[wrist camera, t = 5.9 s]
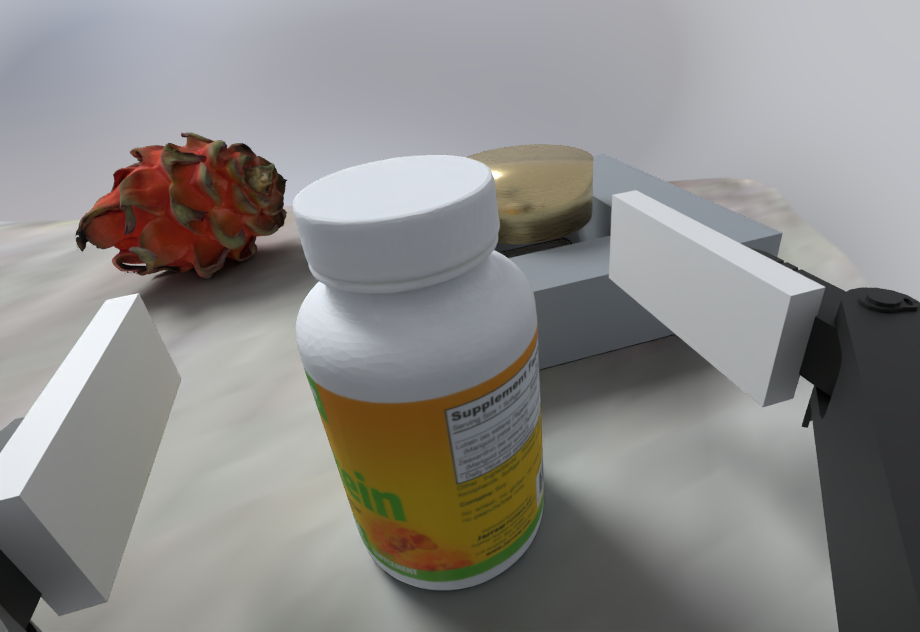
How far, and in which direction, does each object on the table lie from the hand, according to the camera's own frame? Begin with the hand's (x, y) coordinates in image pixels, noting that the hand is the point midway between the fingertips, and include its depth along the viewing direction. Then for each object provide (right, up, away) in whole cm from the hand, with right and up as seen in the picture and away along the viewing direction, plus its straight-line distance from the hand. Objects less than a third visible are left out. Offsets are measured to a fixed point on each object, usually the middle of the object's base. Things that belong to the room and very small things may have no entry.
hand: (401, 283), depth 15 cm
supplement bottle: (+1, -7, +1) cm, 7 cm away
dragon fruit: (-14, +2, +18) cm, 23 cm away
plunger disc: (+5, +4, +10) cm, 12 cm away
